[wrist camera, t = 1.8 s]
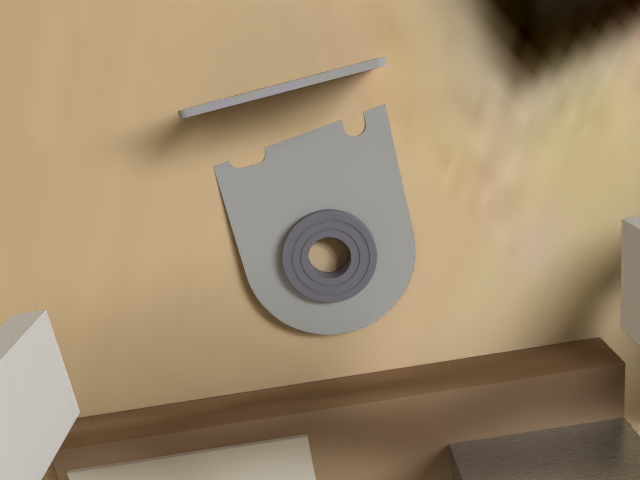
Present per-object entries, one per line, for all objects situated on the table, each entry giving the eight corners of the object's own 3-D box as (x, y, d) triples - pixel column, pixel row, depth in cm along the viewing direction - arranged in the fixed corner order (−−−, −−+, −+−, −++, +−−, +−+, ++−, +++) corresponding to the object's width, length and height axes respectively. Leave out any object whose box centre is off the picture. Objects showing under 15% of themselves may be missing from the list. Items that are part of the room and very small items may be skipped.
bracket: (270, 339, 25) (266, 387, 22) (193, 98, 22) (174, 111, 18) (426, 302, 25) (445, 344, 21) (373, 50, 21) (386, 55, 18)
